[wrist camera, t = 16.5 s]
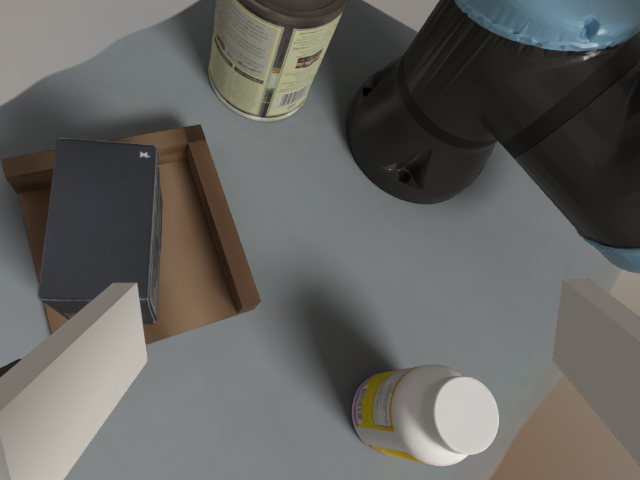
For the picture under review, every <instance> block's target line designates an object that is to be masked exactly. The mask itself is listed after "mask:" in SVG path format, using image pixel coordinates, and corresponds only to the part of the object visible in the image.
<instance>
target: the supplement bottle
mask: <svg viewBox="0 0 640 480" xmlns="http://www.w3.org/2000/svg"><path fill="white" fill-rule="evenodd" d="M352 419H353V424H354V427H355V430H356V432H357V434H358V436H359V437H360V439H361V440H362V441H363V442H364V443H365V444H366V445H367V446H368V447H369V448H371V449H372V450H374V451H376V452H379V453H381V454H385V455H389V456H394V457H398V458H403V459H408V460H413V461H417V462H421V463H426V464H430V465H435V466H448V465H452V464H455V463H458V462H460V461H461V460H463V459H464V458H466V457H467V456H468V455H472V454H477V453H480V452H482V451H484V450H485V449H486V448H487V447H488V446H489V445H490V444H491V443H492V441H493V440H494V438H495V436H496V433H497V430H498V425H499V414H498V408H497V405H496V402H495V399H494V397H493V396H492V394H491V392H490V391H489V390H488V388H487V387H486V386H485V385H484V384H482V383H481V382H480V381H478V380H476V379H474V378H472V377H467V376H463V375H461V374H460V373H458V372H457V371H455V370H454V369H451V368H449V367H446V366H442V365H425V366H419V367H413V368H407V369H401V370H395V371H388V372H383V373H379V374H375V375H373V376H371V377H369V378H368V379H367V380H366V381H364V382H363V383H362V384H361V386H360V387H359V389H358V390H357V392H356V394H355V397H354V400H353V404H352Z"/></svg>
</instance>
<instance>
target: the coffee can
mask: <svg viewBox="0 0 640 480" xmlns="http://www.w3.org/2000/svg"><path fill="white" fill-rule="evenodd" d="M349 2H350V0H216V7H215V17H214V27H213V37H212V47H211V57H210V61H209V66H208V75H209V81H210V84H211V86H212V88H213V90H214V92H215V94H216V95H217V97H218V98H219V99H220V101H221V102H222V103H223V104H224V105H226V106H227V107H228V108H229V109H231V110H232V111H233V112H235V113H236V114H239V115H241V116H243V117H245V118H249V119H251V120H256V121H264V122H269V121H277V120H281V119H284V118H287V117H289V116H291V115H292V114H294V113H295V112H297V111H298V110H299V109H300V108H301V106H302V105H303V104H304V102H305V101H306V98H307V96H308V92H309V89H310V87H311V85H312V83H313V80H314V78H315V76H316V73H317V71H318V69H319V66H320V64H321V62H322V59H323V57H324V55H325V53H326V50H327V48H328V46H329V44H330V42H331V40H332V37H333V35H334V32H335V30H336V28H337V25H338V23H339V21H340V18H341V16H342V14H343V11H344V10H345V8H346V7H347V5H348V4H349Z"/></svg>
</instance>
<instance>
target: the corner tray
mask: <svg viewBox="0 0 640 480" xmlns="http://www.w3.org/2000/svg"><path fill="white" fill-rule="evenodd" d="M109 141H111V142H125V143H136V144H153V145H156V146H157V148H158V159H159V172H160V188H161V195H162V202H163V207H162V233H161V235H162V236H161V241H162V242H161V251H160V270H159V286H158V306H157V321H156V323H154V324H143V331H144V338H145V345H146V344H150V343H153V342H156V341H159V340H162V339H165V338H168V337H171V336H174V335H177V334H180V333H183V332H186V331H189V330H192V329H195V328H198V327H201V326H204V325H207V324H210V323H213V322H216V321H220V320H223V319H226V318H229V317H232V316H235V315H238V314H241V313H244V312H247V311H250V310H253V309H254V308H255V307H256V306H257V305H258V304H259V303H260V302H261V300H260V297H259V294H258V292H257V289H256V286H255V283H254V280H253V277H252V274H251V271H250V268H249V265H248V262H247V259H246V256H245V253H244V251H243V248H242V245H241V242H240V239H239V236H238V233H237V230H236V227H235V224H234V221H233V218H232V215H231V212H230V209H229V207H228V204H227V201H226V198H225V195H224V192H223V189H222V186H221V183H220V180H219V177H218V174H217V171H216V168H215V166H214V163H213V160H212V157H211V154H210V151H209V148H208V145H207V142H206V139H205V136H204V133H203V130H202V127H201V125H194V126H189V127H183V128H177V129H171V130H166V131H160V132H154V133H149V134H143V135H137V136H132V137H126V138H120V139H115V140H109ZM55 151H56V150H52V151H46V152H41V153H35V154H29V155H24V156H18V157H12V158H7V159H1V161H2V165H3V169H4V173H5V178H6V179H7V180H8V182H9V183H10V184H11V186H12V187H13V188H14V190H15V191H16V193H17V195H18V199H19V203H20V207H21V211H22V215H23V219H24V223H25V227H26V231H27V235H28V239H29V243H30V247H31V251H32V256H33V260H34V264H35V268H36V272H37V276H38V280H39V281H40V274H41V266H42V258H43V251H44V242H45V234H46V226H47V218H48V210H49V202H50V194H51V185H52V177H53V168H54V160H55ZM44 304H45V303H44ZM45 308H46V312H47V316H48V320H49V324H50V328H51V332H52V334H53V333H54V332H55V331H56V330H58V329H59V328H60V327H61V326H62V325H63V324H65V323H66V322H67V321H68V320H67V319H66V318H65V317H63V316H62V315H61V314H59V313H58V312H57V311H55V310H54V309H52V308H51V307H50V306H48V305H47V304H45Z"/></svg>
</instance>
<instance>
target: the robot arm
mask: <svg viewBox="0 0 640 480" xmlns="http://www.w3.org/2000/svg"><path fill="white" fill-rule="evenodd" d="M346 128H347V137H348V142H349V145H350V148H351V151H352V154H353V156H354V158H355V160H356V161H357V163H358V165H359V166H360V168H361V169H362V170H363V172H364V173H365V174H366V175H367V176H368V178H369V179H370V180H371V181H372V182H374V183H375V184H376V185H377V186H378V187H380V188H381V189H382V190H384V191H385V192H387V193H389V194H390V195H392V196H394V197H396V198H399V199H401V200H404V201H407V202H412V203H417V204H434V203H439V202H443V201H446V200H448V199H451V198H452V197H454V196H456V195H457V194H458V193H460V192H461V191H463V190H464V189H465V188H467V187H468V186H469V185H470V184H471V183H472V182H473V181H474V180H475V179H476V178H477V177H478V175H479V174H480V172H481V170H482V168H483V166H484V164H485V163H486V161H487V159H488V157H489V155H490V154H491V152H492V150H493V148H494V146H495V144H496V142H497V141H498V142H499V143H500V144H501V145H502V146H503V147H504V148H505V149H506V150H507V151H508V152H509V153H510V155H511V156H512V157H513V158H514V159H515V160H516V161H517V163H518V164H519V165H520V166H521V167H522V168H523V169H524V170H525V172H526V173H527V174H528V175H529V176H530V177H531V178H532V180H533V181H534V182H535V183H536V184H537V185H538V186H539V187H540V189H541V190H542V191H543V192H544V193H545V194H546V195H547V197H548V198H549V199H550V200H551V201H552V202H553V203H554V204H555V206H556V207H557V208H558V209H559V210H560V211H561V212H562V213H563V215H564V216H565V217H566V218H567V219H568V220H569V221H570V223H571V224H572V225H573V226H574V227H575V228H576V230H577V232H578V234H579V235H580V236H581V237H583V239H584V240H585V241H586V242H588V243H589V244H591V245H593V246H594V247H595V248H596V249H597V250H598V251H599V252H600V253H601V254H602V255H603V256H604V257H605V258H607V259H608V260H609V261H610V262H611V263H612V264H614V265H615V266H617V267H619V268H621V269H623V270H626V271H629V272H633V273H638V274H640V0H440V1H439V2H438V4H437V5H436V7H435V8H434V10H433V11H432V13H431V15H430V16H429V17H428V19H427V21H426V22H425V23H424V25H423V26H422V28H421V29H420V31H419V32H418V34H417V35H416V37H415V39H414V40H413V42H412V43H411V45H410V46H409V48H408V49H407V51H406V52H405V54H404V55H403V56H401V57H399V58H398V59H396V60H395V61H393V62H392V63H390V64H389V65H387V66H386V67H384V68H382V69H381V70H379V71H378V72H376V73H375V74H373V75H372V76H371V77H370V78H369V79H368V80H367V81H366V82H365V83H364V84H363V85H362V87H361V88H360V90H359V91H358V93H357V95H356V96H355V98H354V100H353V101H352V103H351V105H350V108H349V111H348V115H347V125H346ZM552 360H553V362H554V363H555V364H556V365H557V366H558V368H559V369H560V370H561V371H562V372H563V374H564V375H565V376H566V377H567V378H568V380H569V381H570V382H571V383H572V385H573V386H574V387H575V388H576V389H577V391H578V392H579V393H580V394H581V395H582V397H583V398H584V399H585V400H586V401H587V403H588V404H589V405H590V406H591V407H592V409H593V410H594V411H595V412H596V414H597V415H598V416H599V417H600V418H601V420H602V421H603V422H604V423H605V424H606V426H607V427H608V428H609V429H610V431H611V432H612V433H613V434H614V435H615V437H616V438H617V439H618V440H619V441H620V443H621V444H622V445H623V446H624V447H625V449H626V450H627V451H628V452H629V454H630V455H631V456H632V457H633V458H634V460H635V461H636V462H637V463H638V464H639V466H640V316H638V315H637V314H636V313H634V312H633V311H632V310H630V309H629V308H627V307H626V306H625V305H623V304H622V303H621V302H619V301H618V300H616V299H615V298H614V297H612V296H611V295H609V294H608V293H607V292H605V291H604V290H603V289H601V288H600V287H598V286H597V285H596V284H594V283H593V282H591V281H590V280H589V279H565V280H563V282H562V289H561V297H560V305H559V313H558V320H557V328H556V336H555V344H554V351H553V359H552ZM147 361H148V360H147V353H146V346H145V338H144V331H143V323H142V316H141V308H140V301H139V293H138V286H137V283H112V284H111V285H110V286H109V287H108V288H106V289H105V290H104V291H103V292H102V293H100V294H99V295H98V296H97V297H96V298H94V299H93V300H92V301H91V302H90V303H88V304H87V305H86V306H85V307H84V308H83V309H81V310H80V311H79V312H78V313H77V314H75V315H74V316H73V317H72V318H71V319H69V320H68V321H67V322H66V323H65V324H63V325H62V326H61V327H60V328H59V329H58V330H56V331H55V332H54V333H53V334H52V335H50V336H49V337H48V338H47V339H46V340H44V341H43V342H42V343H41V344H40V345H38V346H37V347H36V348H35V349H34V350H33V351H31V352H30V353H29V354H28V355H27V356H25V357H24V358H23V359H18V360H16V361H14V362H12V363H10V364H8V365H6V366H4V367H2V368H0V480H64V478H65V477H66V476H67V474H68V473H69V471H70V470H71V468H72V467H73V466H74V464H75V463H76V461H77V460H78V459H79V457H80V456H81V454H82V453H83V452H84V450H85V449H86V447H87V446H88V444H89V443H90V442H91V440H92V439H93V437H94V436H95V435H96V433H97V432H98V430H99V429H100V427H101V426H102V425H103V423H104V422H105V420H106V419H107V418H108V416H109V415H110V413H111V412H112V411H113V409H114V408H115V406H116V405H117V403H118V402H119V401H120V399H121V398H122V396H123V395H124V394H125V392H126V391H127V389H128V388H129V387H130V385H131V384H132V382H133V381H134V379H135V378H136V377H137V375H138V374H139V372H140V371H141V370H142V368H143V367H144V365H145V364H146V362H147Z"/></svg>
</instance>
